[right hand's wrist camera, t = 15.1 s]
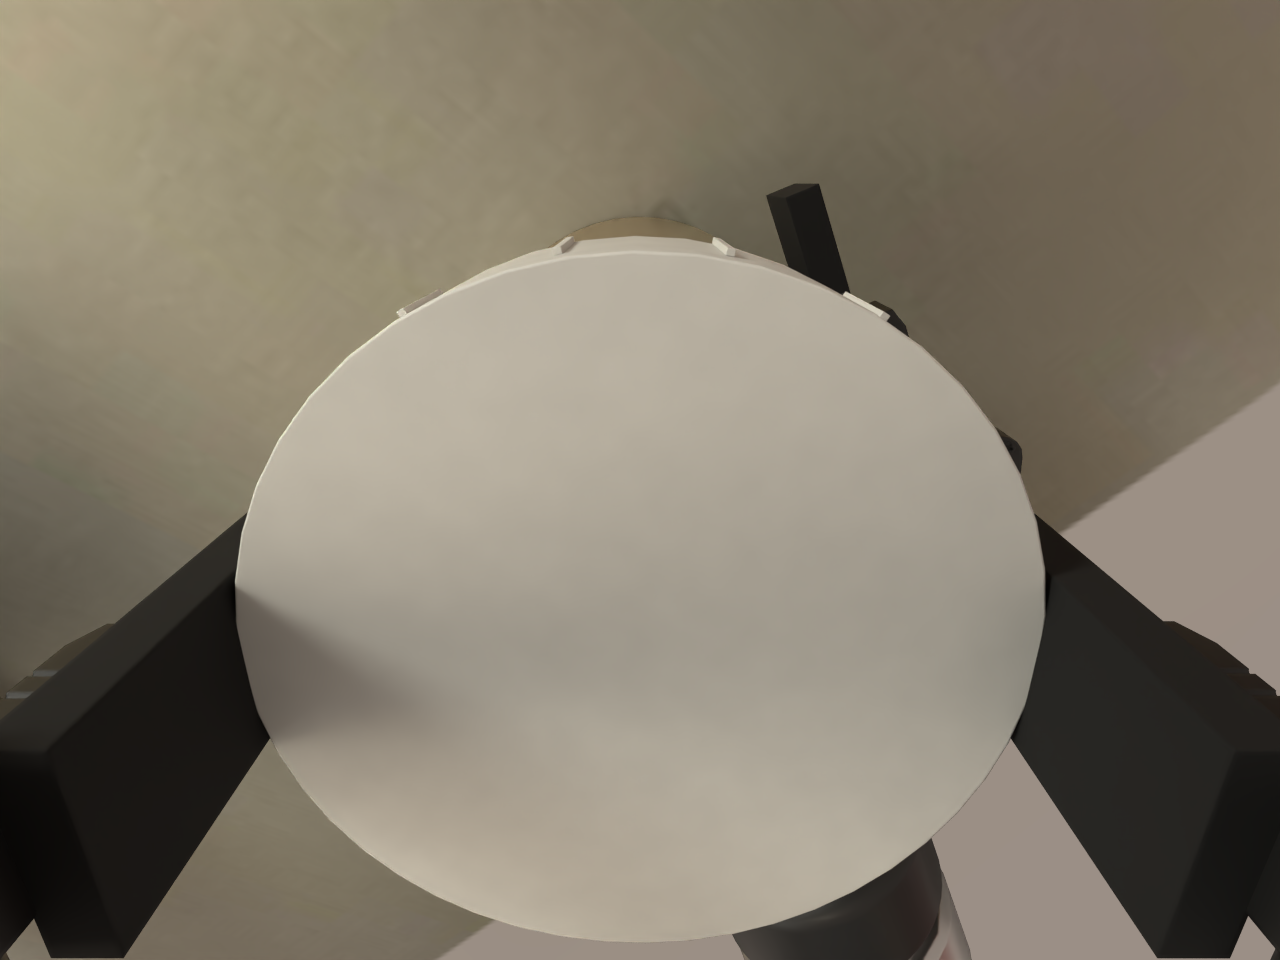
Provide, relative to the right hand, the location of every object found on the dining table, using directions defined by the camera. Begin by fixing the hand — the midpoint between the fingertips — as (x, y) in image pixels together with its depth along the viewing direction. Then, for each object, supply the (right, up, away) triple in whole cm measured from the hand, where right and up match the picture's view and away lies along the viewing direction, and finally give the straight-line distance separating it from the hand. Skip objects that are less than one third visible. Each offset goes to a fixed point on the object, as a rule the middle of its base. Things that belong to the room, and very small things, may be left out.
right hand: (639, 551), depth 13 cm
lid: (0, -1, -3) cm, 3 cm away
